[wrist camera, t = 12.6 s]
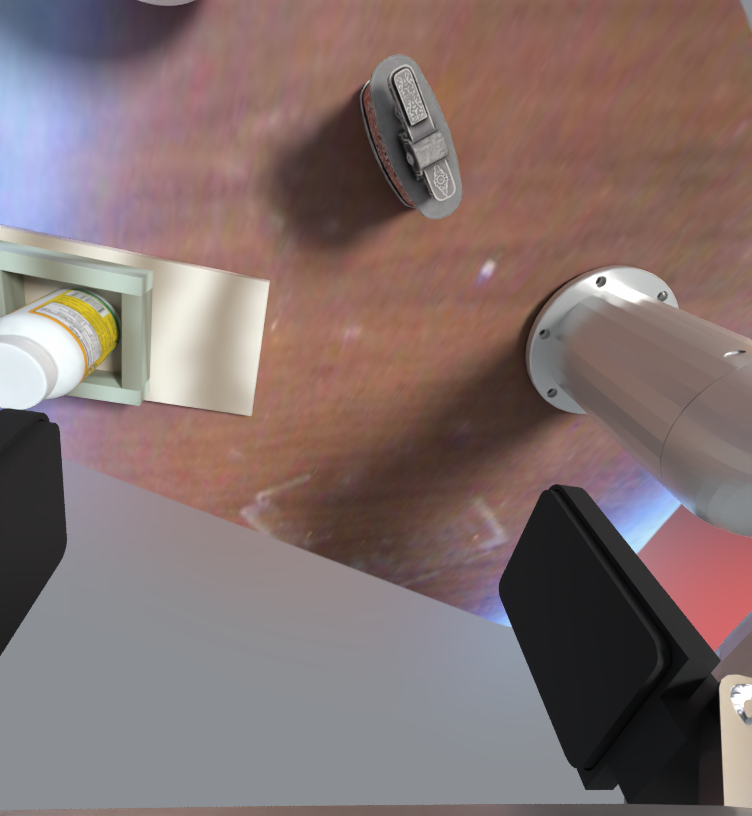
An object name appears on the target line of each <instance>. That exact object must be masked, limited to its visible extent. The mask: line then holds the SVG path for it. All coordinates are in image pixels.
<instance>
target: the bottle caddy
mask: <svg viewBox="0 0 752 816" xmlns="http://www.w3.org/2000/svg"><path fill="white" fill-rule="evenodd" d="M269 285H270V280H267V279H262V278H257V277H253V276H248V275H243V274H238V273H233V272H228V271H224V270H219V269H214V268H209V267H204V266H199V265H195V264H190V263H185V262H180V261H175V260H170V259H165V258H161V257H156V256H151V255H146V254H141V253H136V252H132V251H127V250H122V249H117V248H112V247H107V246H102V245H98V244H93V243H88V242H83V241H78V240H73V239H69V238H64V237H59V236H54V235H49V234H44V233H39V232H35V231H30V230H25V229H20V228H15V227H10V226H6V225H1V224H0V318H1V317H3V316H5V315H7V314H9V313H11V312H13V311H15V310H17V309H19V308H21V307H23V306H25V305H27V304H29V303H31V302H33V301H35V300H37V299H39V298H41V297H43V296H45V295H47V294H49V293H51V292H53V291H56V290H58V289H61V288H65V287H80V288H85V289H88V290H91V291H93V292H95V293H97V294H99V295H101V296H102V297H103V298H105V299H106V300H107V301H108V302H109V303H110V304H111V305H112V306H113V307H114V309H115V310H116V312H117V313H118V316H119V318H120V321H121V324H122V338H121V341H120V343H119V345H118V346H117V348H116V349H115V350H114V351H113V352H112V353H111V354H110V355H109V356H108V357H107V358H106V359H105V360H104V361H103V362H102V363H101V364H100V365H99V366H98V367H97V368H96V369H95V370H94V371H93V372H91V373H90V374H89V375H88V376H87V377H86V378H85V379H84V380H83V381H82V382H81V383H80V384H79V385H78V386H76V387H75V388H74V389H73V390H72V391H70V392H68V393H67V394H65V395H68V396H75V397H82V398H89V399H96V400H102V401H109V402H116V403H123V404H130V405H136V406H140V404H141V403H142V402H143V400H147V401H154V402H161V403H167V404H174V405H181V406H188V407H194V408H201V409H208V410H214V411H221V412H228V413H234V414H241V415H248V416H251V415H252V411H253V404H254V396H255V389H256V381H257V374H258V367H259V359H260V352H261V344H262V337H263V330H264V322H265V315H266V307H267V300H268V293H269Z"/></svg>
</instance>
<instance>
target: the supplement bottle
mask: <svg viewBox="0 0 752 816" xmlns="http://www.w3.org/2000/svg"><path fill="white" fill-rule="evenodd" d="M121 338H122V324H121V321H120V318H119V316H118V313H117V312H116V310H115V309H114V307H113V306H112V305H111V304H110V303H109V302H108V301H107V300H106V299H105V298H103V297H102V296H101V295H99V294H97V293H95V292H93V291H91V290H88V289H85V288H80V287H65V288H61V289H58V290H56V291H53V292H51V293H49V294H47V295H45V296H43V297H41V298H39V299H37V300H35V301H33V302H31V303H29V304H27V305H25V306H23V307H21V308H19V309H17V310H15V311H13V312H11V313H9V314H7V315H5V316H3V317H1V318H0V407H1V408H11V409H19V410H23V409H27V408H31V407H33V406H35V405H37V404H38V403H40V402H41V401H42V400H43V399H52V398H57V397H60V396H63V395H65V394H67V393H68V392H70V391H72V390H73V389H74V388H75V387H76V386H78V385H79V384H80V383H81V382H82V381H83V380H84V379H85V378H86V377H87V376H88V375H89V374H90V373H91V372H93V371H94V370H95V369H96V368H97V367H98V366H99V365H100V364H101V363H102V362H103V361H104V360H105V359H106V358H107V357H108V356H109V355H110V354H111V353H112V352H113V351H114V350H115V349H116V348H117V346H118V345H119V343H120V341H121Z"/></svg>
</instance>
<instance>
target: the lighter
mask: <svg viewBox="0 0 752 816" xmlns="http://www.w3.org/2000/svg"><path fill="white" fill-rule="evenodd" d="M359 105H360V110H361V114H362V118H363V122H364V126H365V130H366V134H367V137H368V139H369V142H370V145H371V148H372V151H373V153H374V156H375V159H376V161H377V163H378V165H379V167H380V169H381V171H382V172H383V174H384V176H385V178H386V180H387V182H388V183H389V185H390V186H391V188H392V189H393V191H394V192H395V194H396V195H397V197H398V198H399V200H400V201H401V202H402V203H403V204H404V205H406V206H408V207H411V208H416V209H417V210H418V211H419V212H420V213H421V214H422V215H423V216H425V217H428V218H431V219H440V218H443V217H446V216H448V215H449V214H451V213H452V212H453V211H454V210H455V209H456V208H457V206H458V205H459V203H460V201H461V198H462V185H461V179H460V173H459V167H458V161H457V156H456V153H455V149H454V146H453V142H452V139H451V135H450V131H449V128H448V125H447V123H446V120H445V118H444V116H443V113H442V111H441V109H440V106H439V104H438V102H437V99H436V97H435V95H434V93H433V91H432V90H431V88H430V86H429V84H428V83H427V81H426V79H425V77H424V75H423V74H422V72H421V70H420V68H419V67H418V65H417V64H416V63H415V62H414V60H413V59H412V58H409V57H407V56H405V55H393V56H390V57H387V58H385V59H384V60H383V61H382V62H381V63H379V64H378V66H377V67H376V69H375V70H374V72H373V74H372V75H371V79H370V80H369V81H368V82H367V83H366V84H365V86H364V87H363V89H362V90H361V93H360V97H359Z"/></svg>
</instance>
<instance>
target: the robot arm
mask: <svg viewBox="0 0 752 816" xmlns="http://www.w3.org/2000/svg"><path fill="white" fill-rule="evenodd" d="M597 278H598V279H597ZM596 280H597V281H596ZM541 330H543V331H542V332H541ZM540 332H541V333H540ZM526 365H527V372H528V375H529V377H530V380H531V382H532V384H533V385H534V387H535V388H536V390H537V391H538V393H539V394H540V395H541V396H542V397H543V398H544V399H545V400H546V401H547V402H549V403H550V404H552V405H553V406H555V407H556V408H559V409H561V410H564V411H566V412H571V413H576V414H588V415H589V416H590V417H591V418H592V419H593V420H594V421H596V422H597V423H598V424H599V425H600V426H601V427H602V428H603V429H604V430H605V431H606V432H607V433H608V434H609V435H610V436H611V437H612V438H613V439H614V440H615V441H616V442H617V443H618V444H620V445H621V446H622V447H623V448H624V449H625V450H626V451H627V452H628V453H629V454H630V455H631V456H632V457H633V458H634V459H635V460H636V461H637V462H638V463H639V464H640V465H641V466H643V467H644V468H645V469H646V470H647V471H648V472H649V473H650V474H651V475H652V476H653V477H654V478H655V479H656V480H657V481H658V482H659V483H660V484H661V485H662V486H663V487H664V488H666V489H667V490H668V491H669V492H670V493H671V494H672V495H673V496H674V497H675V498H676V499H677V500H678V501H680V502H681V503H682V504H683V505H684V506H685V507H686V508H687V509H689V510H690V511H691V512H692V513H693V514H695V515H696V516H697V517H699V518H700V519H702V520H703V521H705V522H707V523H709V524H710V525H712V526H715V527H717V528H719V529H722V530H724V531H727V532H730V533H734V534H738V535H742V536H747V537H752V340H751V339H749V338H747V337H744V336H742V335H740V334H737V333H735V332H732V331H730V330H728V329H725V328H723V327H721V326H718V325H716V324H714V323H711V322H709V321H706V320H704V319H702V318H699V317H697V316H695V315H692V314H690V313H687V312H685V311H683V310H680V309H679V308H678V303H677V301H676V298H675V296H674V294H673V292H672V290H671V289H670V288H669V287H668V286H667V284H666V283H665V282H664V281H663V280H661V279H660V278H658V277H657V276H656V275H654V274H652V273H650V272H647V271H645V270H642V269H639V268H635V267H631V266H619V265H612V266H607V267H601V268H597V269H594V270H592V271H589V272H586V273H583V274H582V275H580V276H578V277H576V278H575V279H573V280H571V281H569V282H568V283H567V284H565V285H564V286H563V287H562V288H561V289H559V290H558V291H557V292H556V293H555V294H554V295H553V296H552V297H551V298H550V299H549V300H548V301H547V303H546V304H545V305H544V306H543V308H542V309H541V311H540V313H539V314H538V316H537V317H536V319H535V321H534V323H533V326H532V328H531V330H530V333H529V337H528V341H527V345H526ZM65 520H66V519H65V504H64V489H63V474H62V459H61V444H60V431H59V427H58V425H57V424H56V423H52V422H49V418H48V416H47V415H46V414H44V413H40V412H33V411H26V410H19V409H11V408H4V409H3V410H1V411H0V656H1V654H2V652H3V651H4V649H5V648H6V646H7V645H8V643H9V641H10V640H11V638H12V637H13V635H14V634H15V632H16V630H17V629H18V627H19V626H20V624H21V623H22V621H23V620H24V618H25V616H26V615H27V613H28V612H29V610H30V609H31V607H32V605H33V604H34V602H35V600H36V599H37V598H38V596H39V594H40V593H41V591H42V590H43V588H44V587H45V585H46V583H47V582H48V580H49V579H50V577H51V576H52V574H53V572H54V571H55V569H56V567H57V566H58V565H59V563H60V561H61V559H62V557H63V555H64V552H65V549H66V544H67V534H66V521H65ZM499 595H500V598H501V601H502V603H503V606H504V608H505V611H506V613H507V615H508V618H509V620H510V623H511V625H512V628H513V630H514V632H515V635H516V637H517V640H518V642H519V644H520V647H521V649H522V652H523V654H524V657H525V659H526V662H527V664H528V666H529V669H530V671H531V674H532V676H533V678H534V681H535V683H536V685H537V688H538V691H539V693H540V696H541V698H542V700H543V703H544V705H545V707H546V710H547V713H548V715H549V717H550V720H551V722H552V725H553V727H554V730H555V732H556V734H557V737H558V739H559V742H560V744H561V746H562V749H563V751H564V754H565V756H566V758H567V760H568V762H569V763H570V764H571V766H573V767H574V768H577V771H578V773H579V775H580V778H581V780H582V783H583V785H584V787H585V789H586V790H613V789H614V788H615V787H616V786H617V785H618V784H619V786H620V788H621V791H622V793H623V795H624V797H625V798H624V804H496V805H495V804H491V805H490V804H485V805H484V804H482V805H481V804H479V805H477V804H476V805H362V806H361V805H360V806H358V805H357V806H267V807H265V806H262V807H260V806H258V807H189V808H188V807H187V808H127V809H126V808H121V809H55V810H54V809H51V810H2V811H0V816H752V611H751V612H750V613H749V614H748V615H747V616H746V617H745V618H744V619H743V621H742V622H741V623H740V624H739V625H738V626H737V627H736V628H735V629H734V630H733V631H732V632H731V633H730V635H729V636H728V637H727V638H726V639H725V640H724V642H723V643H722V644H721V645H720V646H719V647H718V649H717V650H716V651H715V652H714V651H713V650H712V649H711V648H710V646H709V645H708V644H707V643H706V641H705V640H704V639H703V637H702V636H701V635H700V634H699V632H698V631H697V630H696V629H695V627H694V626H693V625H692V624H691V622H690V621H689V620H688V619H687V617H686V616H685V615H684V614H683V612H682V611H681V610H680V609H679V607H678V606H677V605H676V604H675V602H674V601H673V600H672V599H671V598H670V596H669V595H668V594H667V592H666V591H665V590H664V589H663V587H662V586H661V585H660V584H659V582H658V581H657V580H656V579H655V577H654V576H653V575H652V574H651V572H650V571H649V570H648V569H647V567H646V566H645V565H644V564H643V562H642V561H641V560H640V559H639V557H638V556H637V555H636V554H635V552H634V551H633V550H632V549H631V547H630V546H629V545H628V544H627V542H626V541H625V540H624V539H623V537H622V536H621V535H620V533H619V532H618V531H617V530H616V528H615V527H614V526H613V525H612V523H611V522H610V521H609V520H608V518H607V517H606V516H605V515H604V513H603V512H602V511H601V510H600V508H599V507H598V506H597V505H596V503H595V502H594V501H593V500H592V498H591V497H590V496H589V495H588V493H587V492H586V491H585V490H584V489H583V488H579V487H572V486H565V485H558V484H556V485H553V486H551V487H550V488H549V490H545V491H543V492H542V494H541V495H540V497H539V499H538V501H537V504H536V506H535V508H534V510H533V512H532V514H531V516H530V518H529V520H528V523H527V525H526V527H525V529H524V531H523V533H522V535H521V537H520V539H519V541H518V544H517V546H516V548H515V550H514V552H513V554H512V556H511V558H510V560H509V563H508V565H507V567H506V569H505V571H504V573H503V575H502V577H501V580H500V583H499Z"/></svg>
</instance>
